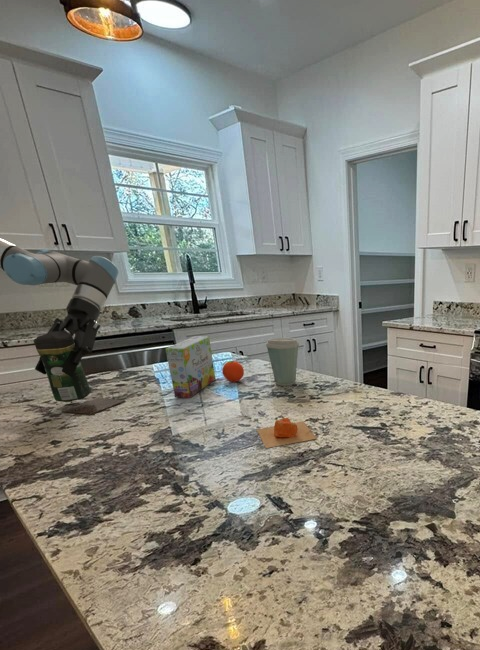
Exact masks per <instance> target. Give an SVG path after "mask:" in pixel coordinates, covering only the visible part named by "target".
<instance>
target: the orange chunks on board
mask: <svg viewBox="0 0 480 650" xmlns="http://www.w3.org/2000/svg"><path fill="white" fill-rule="evenodd" d="M256 431H257V433H258V435H259V438H260V440H261V441H262V444H263V446H264V447H265V449H270V448H275V447H280V446H285V445H290V444H296V443H301V442H306V441H307V442H308V441H311V440H317V439H318V437H316V435H315V434H314V433H313V431H312V430H311V428H310V427H309V426H308V425H307V424H306V422H305V421H303V420H302V421H298V422H297V421H296V422H292V421H291V420H290V418H289V417H283V418H282V419H279V420H277V419H276V420H275V421H274V425H273V426H267V427H262V428H261V427H260V428H256Z"/></svg>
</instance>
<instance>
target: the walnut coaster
mask: <svg viewBox="0 0 480 650" xmlns="http://www.w3.org/2000/svg"><path fill="white" fill-rule="evenodd" d="M125 402H126V399H116V398H115V399H114V398H105V397H97V398H93V399H90V400H89V401H86V402H83V403H79V404H78V405H75V406H72V407H68V408H66V409H63V410H61V413H66V414H75V415H85V416H93V415H95V414H98V413H100V412H104V411H105V410H107V409H110V408H113V407H116V406H118V405H121V404H123V403H125Z"/></svg>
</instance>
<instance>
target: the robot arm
mask: <svg viewBox="0 0 480 650" xmlns="http://www.w3.org/2000/svg"><path fill="white" fill-rule="evenodd" d="M0 271H3V272H4V273H5V275H7V276H8V278H10V280H12V281H13V282H15V283H16V284H19V285H22V286H38V285H45V284H55V283H66V284H67V283H68V284H71V285H75V286H76V288H75V289H74V291H73V293H72V295H71V298H70V300H69V302H68V303H67V306H66V308H65V309H66V312H67V315H66V316H65V317H64V318H63V319H60V318H59V317H56V318H55V319H54V321H53V324H52V325H51V327H50V328H49V330H48V331H47V333H49V332H53V331H66V332H68V333H70V334H71V335H72V337H73V336H74V341H75V347H74V349H73V348H72V349H73V350H75V351H76V352H75V351H71V352H70V354H69V356H68V358H67V360H66V363H65V365H64V367H63V369H62V372H64V373H65V374H67V375H69V376H73V374H74V372H75V370H76V367H77V365H78V364H79V363H80V362H81V360H82V359H83V357H84V356H85V355H86V354H88V355H91V354H92V352H93V349H94V345H95V341H96V338H97V333H98V331H99V330H100V328H101V324H100V323H99V322H97V321H98V319H99V318H100V315H101V311H102V310H103V308H104V305H105V304H106V301H107V300H108V297H109V296H110V293H111V291H112V289H113V287H114V285H115V284H116V280H117V278H118V275H119V269H118V267H117V266H116V264H115V263H114V262H112V261H111V260H110V259H108V258H106V257H104V256H102V255H93V256H92V257H91V258H90V259H89V260H88V261H87V260H84V259H79V258H76V257H73V256H70V255H66V254H63V253H61V252H58V251H56V250H49V249H45V248H44V249H43V248H42V249H39V251H37V252H36V253H33V252H31V251H29V250H26V249H25V248H22V247H20V246H18V245H16V244H14V243H12V242H9V241H7V240H6V239H4V238H1V237H0ZM34 370H35V371H37V372H39V373H40V374H42V375H47V374H46V371H45V368H44V365H43V362H42V359H41V357H40V356H39V359H38V361H37V363H36V366H35V367H34Z"/></svg>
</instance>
